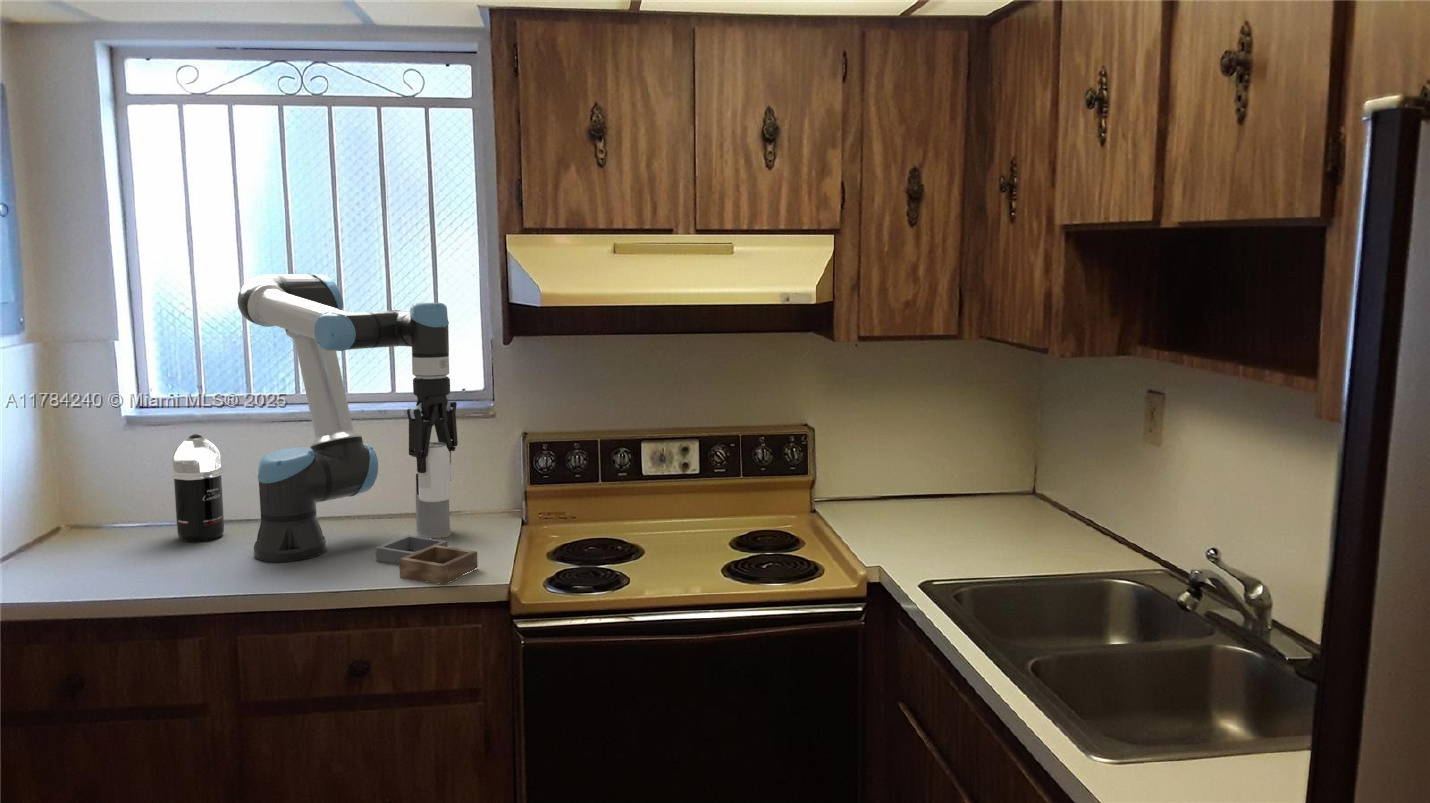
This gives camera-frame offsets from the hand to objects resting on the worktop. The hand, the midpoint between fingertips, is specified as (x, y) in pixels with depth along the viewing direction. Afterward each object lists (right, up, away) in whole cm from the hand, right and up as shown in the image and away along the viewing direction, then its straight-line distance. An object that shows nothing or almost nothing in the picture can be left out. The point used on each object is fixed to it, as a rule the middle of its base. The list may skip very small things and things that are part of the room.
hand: (435, 483), depth 211 cm
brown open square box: (0, -19, +2) cm, 20 cm away
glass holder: (-11, -15, +34) cm, 38 cm away
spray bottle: (-63, -15, +25) cm, 69 cm away
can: (0, -4, 0) cm, 4 cm away
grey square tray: (-9, -18, +12) cm, 23 cm away
